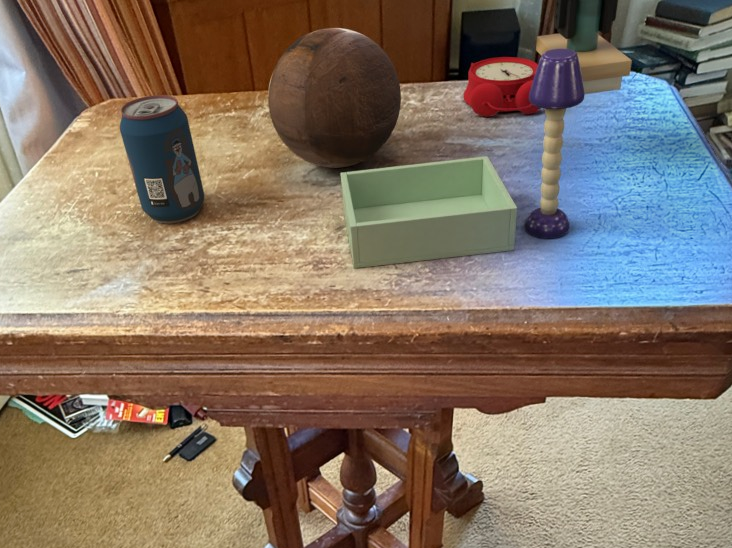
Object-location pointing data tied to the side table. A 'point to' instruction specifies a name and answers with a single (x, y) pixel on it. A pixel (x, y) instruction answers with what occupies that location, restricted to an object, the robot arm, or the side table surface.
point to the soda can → (162, 158)
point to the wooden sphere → (334, 97)
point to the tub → (427, 212)
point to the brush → (591, 50)
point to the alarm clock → (500, 86)
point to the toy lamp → (553, 134)
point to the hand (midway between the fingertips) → (583, 30)
